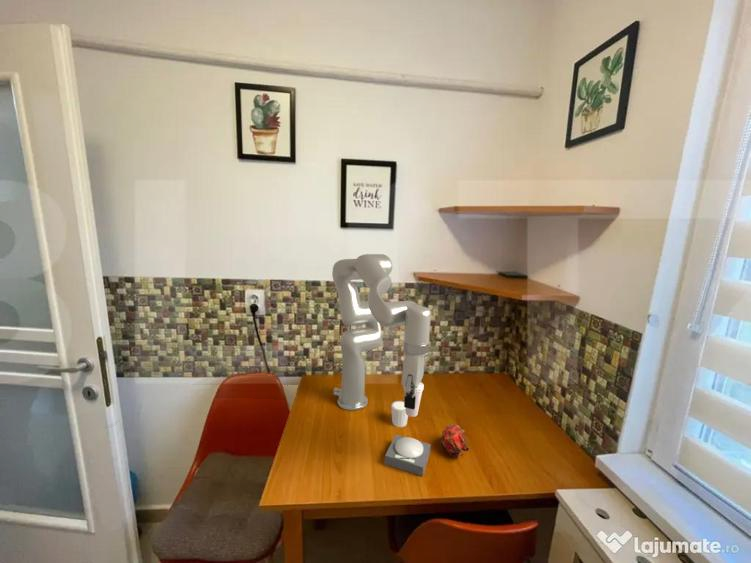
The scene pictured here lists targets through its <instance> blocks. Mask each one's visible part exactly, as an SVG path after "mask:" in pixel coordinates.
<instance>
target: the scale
mask: <svg viewBox="0 0 751 563" xmlns="http://www.w3.org/2000/svg"><path fill="white" fill-rule="evenodd" d="M431 447H432V444H430V443H427V442H425V441H419V440H418V439H417V438H413V437H410V436H409V437H406V436H402V435H399V434H395V435H394V437H393V440H392V441H391V443H390V445H389V447H388V449H387V451H386V453H385V456H384V465H386V466H389V467H392V468H395V469H398V470H402V471H405V472H407V473H410V474H414V475H417V476H420V477H423V476H424V474H425V470H426V468H427V464H428V461H429V458H430V455H431Z"/></svg>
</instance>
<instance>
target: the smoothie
mask: <svg viewBox="0 0 751 563" xmlns="http://www.w3.org/2000/svg"><path fill="white" fill-rule="evenodd" d="M406 384H407V383H406ZM406 384H405V386H402V388H403V390H404V395H405V388H406ZM424 385H425V384H424V383H423V382H422V381H421V382H420V384H419V385H418V387H417V388H416V390H415V396H416V399H415V409H409V408H405V409H406V414H407V415H408V417H411V418H412V417H417V416H418V413H419V409H420V404H421V399H422V396H423V391H424V389H425V388H424V387H425V386H424ZM411 386H414V384H412V385H411ZM411 391H412V393H413V388H411Z"/></svg>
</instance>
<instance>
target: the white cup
mask: <svg viewBox="0 0 751 563" xmlns="http://www.w3.org/2000/svg"><path fill="white" fill-rule="evenodd" d="M390 408H391V424H392V425H393V426H395V427H397V428H403V427H406V426H407V424H408V421H409V420H408V419H409V416H408V415H407V414H406V409H405V407H404V401H402V400H396V401H393V402H392V403H391V407H390Z"/></svg>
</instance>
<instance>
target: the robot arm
mask: <svg viewBox="0 0 751 563" xmlns="http://www.w3.org/2000/svg"><path fill="white" fill-rule="evenodd" d="M392 271H393V261H392V259H391V258H390V257H389V256H388V255H386V254H383V253H373V254H372V253H371V254H369V253H367V254H366V253H364V254H362V255H359V256H357V258H346V259H340V260H338V261H336V262H335V263H334V264H333V267H332V275H331V276H332V280H333V284H334V286H335V288H336V291H337V296H338V304H339V312H340V318H341V323H342V324H343V325H344V326H347V327H353V326H360V325H365V327H358V328H352V329H348V330H345V331H344V332H343V333H342V334H341V336H340V339H339V340H340V342H339V343H340V348H341V358H342V360H341V361H342V362H341V364H342V365H341V388H339V387H336V386H335V387H334V388H333V395H334V396H337V397H338V398H337V404H338V406H339V407H340V408H341V409H344V410H346V411H359V410H362V409H363V408H365V407H366V406H368V403H369V402H368V401H369V400H368V397H367V396H366V395H365V389H366V388H365V387H366V386H365V383H366V381H365V380H366V360H365V358H364V357H363V356H362V354H361V353H363V352H367V351H372V350H376V349H379V348H380V347H381V346H382V343H383V335H382V333H383V332H382V327H385V328H390V327H391V328H393V327H397V326H404V331H403V332H404V334H403V348H402V351H403V353H404V359H403V364H402V372H401V382H400V384H401V386H402V387H403V386H405V384H406V383H407V384H406V388H405V394H404V401H403V402H404V407H405V408H409V409H415V399H416V396H415V390H416V388H417V387H418V385H419V384H420V382H421V383H422V379H423V378H424V377H423V376H424V373H425V363H426V362H425V358H426V357H425V356H427V355H429V349H430V348H429V347H430V334H431V332H430V331H431V318H432V312H431V310H430V309H429V308H428V307H426V306H422V305H419V304H418V303H416V302H415V301H412V300H401V301H400V300H397V301H390V302H385V301H384V299H383V298H382V295H384V294H385V293H386V292H388V290H389V289H390V287H391V286H392V278H391V276H390V274H391V273H392ZM356 280H357V281H358V280H360V281H362V282H363V283H364V285H365V286H366V288H368V290H369V291H368V293H367V300H363V301H361V299H360V293H359V289H358V288H357V286H356V285H355V283H353V282H352V281H356ZM381 326H382V327H381ZM412 384H414V386H411V385H412ZM411 388H413V393H412V391H411Z"/></svg>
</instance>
